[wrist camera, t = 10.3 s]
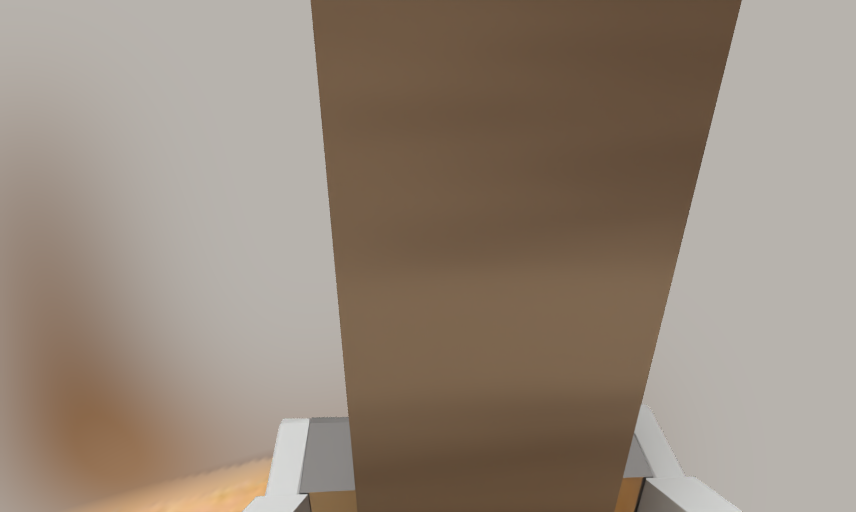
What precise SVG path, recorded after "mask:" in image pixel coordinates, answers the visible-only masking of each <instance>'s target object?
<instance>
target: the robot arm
mask: <svg viewBox="0 0 856 512" xmlns="http://www.w3.org/2000/svg"><path fill="white" fill-rule="evenodd" d="M242 512H357V503H356V492H355V481H354V470H353V459H352V448H351V437H350V426H349V417H321V418H320V417H319V418H296V419H295V418H290V419H283V420H282V422H281V424H280V426H279V430H278V435H277V440H276V445H275V449H274V454H273V459H272V464H271V469H270V474H269V479H268V484H267V489H266V493H265V496H257V497H255V499H254V500H253V501H252V502H251V503H250V504H249V505H248V506H247V507H246V508H245V509H244V510H243V511H242ZM614 512H743V511H741V510H740V509H739V508H737V507H736V506H734V505H733V504H732V503H730V502H729V501H728V500H726V499H725V498H723V497H722V496H721V495H719V494H718V493H717V492H715V491H714V490H712V489H711V488H710V487H708V486H707V485H706V484H704V483H703V482H702V481H700V480H699V479H698V478H696V477H695V476H686V475H685V473H684V472H683V470H682V468H681V466H680V464H679V462H678V460H677V458H676V456H675V454H674V452H673V450H672V448H671V446H670V444H669V442H668V441H667V439H666V437H665V435H664V433H663V431H662V429H661V427H660V425H659V423H658V421H657V419H656V417H655V415H654V413H653V411H652V410H651V408H650V407H649V406H648V405H647V404H641V407H640V411H639V415H638V419H637V423H636V427H635V431H634V435H633V439H632V443H631V447H630V451H629V455H628V459H627V463H626V467H625V471H624V475H623V479H622V483H621V487H620V491H619V495H618V499H617V503H616V507H615V511H614Z"/></svg>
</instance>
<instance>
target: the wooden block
mask: <svg viewBox="0 0 856 512" xmlns="http://www.w3.org/2000/svg"><path fill="white" fill-rule="evenodd" d="M741 1H742V0H311V8H312V19H313V30H314V41H315V52H316V63H317V74H318V85H319V96H320V107H321V118H322V129H323V140H324V151H325V161H326V173H327V183H328V195H329V205H330V217H331V227H332V239H333V250H334V261H335V272H336V283H337V294H338V304H339V315H340V327H341V338H342V349H343V359H344V371H345V381H346V393H347V402H348V403H347V404H348V414H349V426H350V437H351V448H352V459H353V470H354V481H355V492H356V503H357V512H614V511H615V507H616V503H617V499H618V495H619V491H620V487H621V483H622V479H623V475H624V471H625V467H626V463H627V459H628V455H629V451H630V447H631V443H632V439H633V435H634V431H635V427H636V423H637V419H638V415H639V411H640V407H641V403H642V399H643V395H644V391H645V386H646V383H647V379H648V375H649V371H650V367H651V362H652V359H653V354H654V351H655V347H656V342H657V338H658V335H659V330H660V326H661V322H662V318H663V314H664V310H665V306H666V302H667V298H668V294H669V290H670V286H671V282H672V278H673V274H674V270H675V266H676V262H677V258H678V254H679V250H680V246H681V242H682V238H683V234H684V229H685V226H686V222H687V218H688V214H689V210H690V206H691V202H692V198H693V194H694V190H695V186H696V181H697V178H698V174H699V170H700V166H701V162H702V158H703V154H704V150H705V146H706V141H707V138H708V134H709V130H710V126H711V121H712V118H713V114H714V110H715V106H716V102H717V97H718V93H719V90H720V85H721V82H722V77H723V74H724V70H725V66H726V61H727V58H728V54H729V50H730V45H731V41H732V37H733V33H734V29H735V25H736V21H737V17H738V13H739V9H740V5H741Z"/></svg>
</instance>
